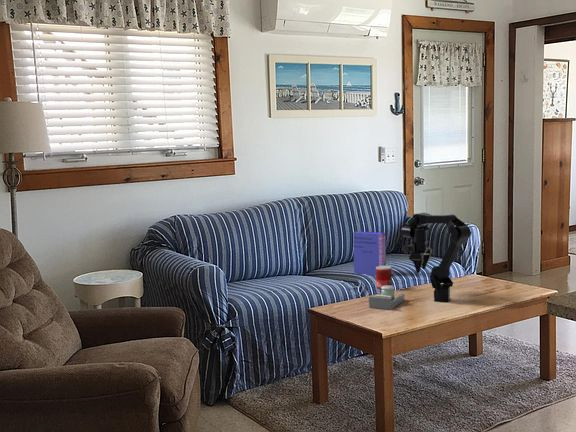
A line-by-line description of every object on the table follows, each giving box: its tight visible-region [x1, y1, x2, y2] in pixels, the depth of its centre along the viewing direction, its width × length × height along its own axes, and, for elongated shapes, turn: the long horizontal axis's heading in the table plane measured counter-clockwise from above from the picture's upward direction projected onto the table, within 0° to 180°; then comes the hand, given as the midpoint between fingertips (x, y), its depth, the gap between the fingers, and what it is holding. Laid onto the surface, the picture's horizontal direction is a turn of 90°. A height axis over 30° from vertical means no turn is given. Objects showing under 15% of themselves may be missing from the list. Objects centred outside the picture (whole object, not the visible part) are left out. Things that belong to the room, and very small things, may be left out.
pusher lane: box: [368, 293, 406, 311], centre depth 302 cm, size 10×19×5 cm, turn 152°
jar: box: [380, 284, 396, 300], centre depth 304 cm, size 6×6×7 cm
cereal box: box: [352, 230, 387, 277], centre depth 366 cm, size 17×5×24 cm, turn 58°
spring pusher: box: [374, 294, 391, 298], centre depth 298 cm, size 7×1×4 cm, turn 62°
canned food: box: [375, 265, 393, 291], centre depth 333 cm, size 8×8×11 cm
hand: (420, 271), depth 314 cm, fingers open, 9 cm apart
